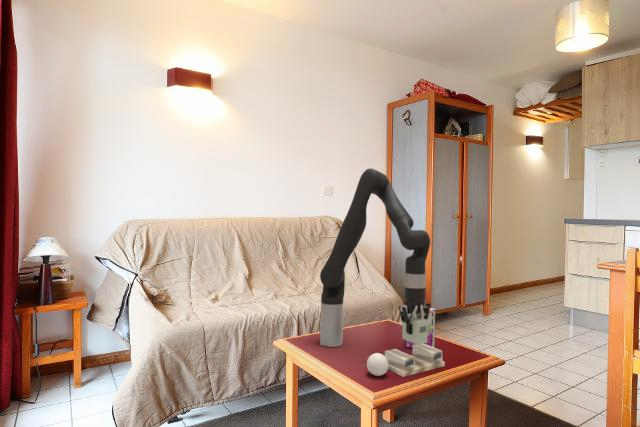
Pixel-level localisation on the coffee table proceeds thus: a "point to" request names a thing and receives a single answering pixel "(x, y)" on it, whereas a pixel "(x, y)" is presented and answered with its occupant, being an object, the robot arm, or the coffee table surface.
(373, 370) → the seamed sphere
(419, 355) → the rail board
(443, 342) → the coffee table surface
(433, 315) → the candy bar box
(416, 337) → the block
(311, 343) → the coffee table surface
